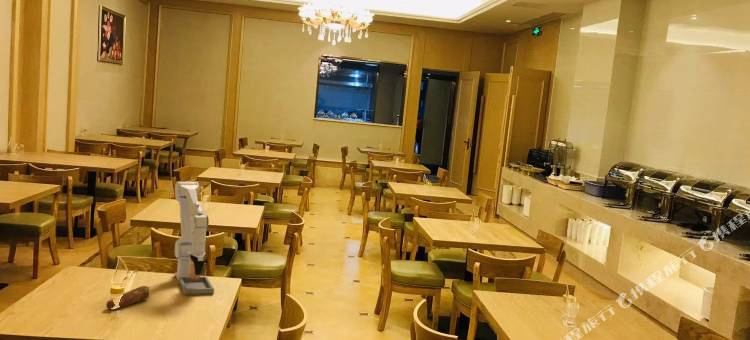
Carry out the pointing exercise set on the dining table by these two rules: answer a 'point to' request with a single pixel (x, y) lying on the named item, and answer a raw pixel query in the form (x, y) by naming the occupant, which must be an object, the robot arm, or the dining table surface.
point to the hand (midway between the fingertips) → (196, 272)
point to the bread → (131, 297)
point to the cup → (193, 272)
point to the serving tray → (196, 286)
